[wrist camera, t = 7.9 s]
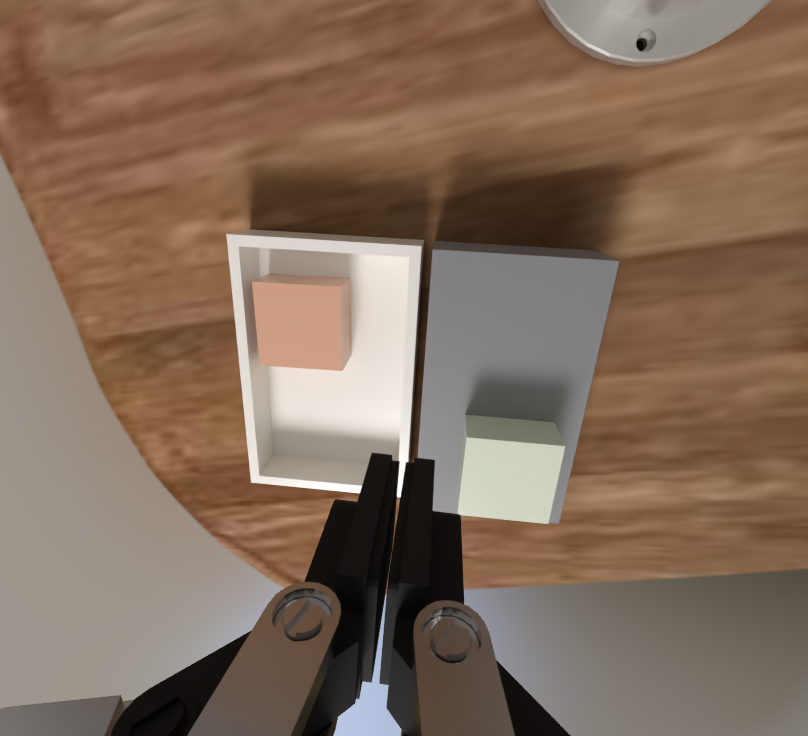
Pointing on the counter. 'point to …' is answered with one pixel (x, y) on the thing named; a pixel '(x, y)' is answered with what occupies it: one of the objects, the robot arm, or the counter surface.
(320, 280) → the tile
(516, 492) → the tile
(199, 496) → the counter surface
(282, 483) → the tray
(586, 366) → the plate
